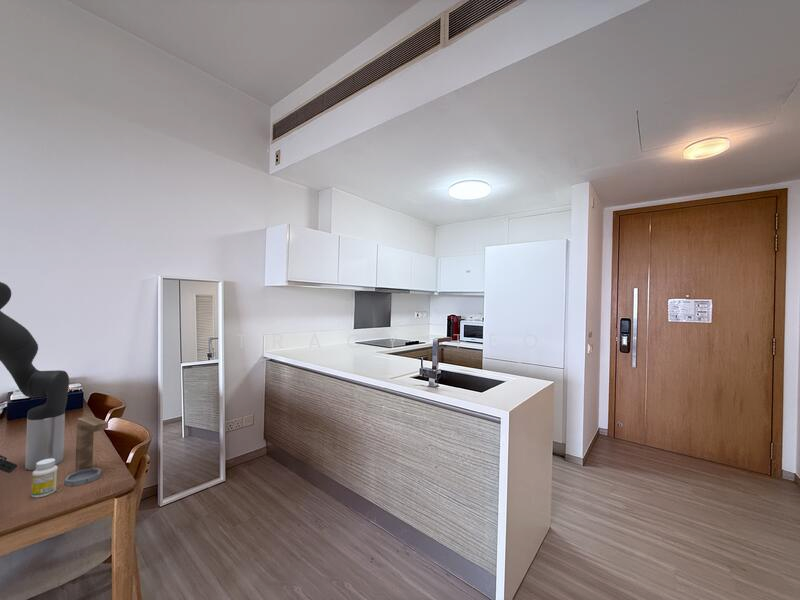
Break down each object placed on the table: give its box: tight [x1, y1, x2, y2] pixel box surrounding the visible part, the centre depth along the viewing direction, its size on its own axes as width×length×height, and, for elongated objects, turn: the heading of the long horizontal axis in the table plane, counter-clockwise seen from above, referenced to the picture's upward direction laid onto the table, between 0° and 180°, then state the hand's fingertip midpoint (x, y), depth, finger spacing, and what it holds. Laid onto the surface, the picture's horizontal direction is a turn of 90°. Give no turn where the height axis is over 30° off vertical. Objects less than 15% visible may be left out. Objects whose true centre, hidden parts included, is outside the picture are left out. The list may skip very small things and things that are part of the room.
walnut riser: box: [74, 415, 109, 472], centre depth 111 cm, size 4×13×18 cm, turn 63°
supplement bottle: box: [31, 458, 59, 498], centre depth 100 cm, size 5×5×10 cm
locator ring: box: [64, 467, 102, 487], centre depth 108 cm, size 8×8×2 cm
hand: (8, 465), depth 93 cm, fingers open, 8 cm apart
